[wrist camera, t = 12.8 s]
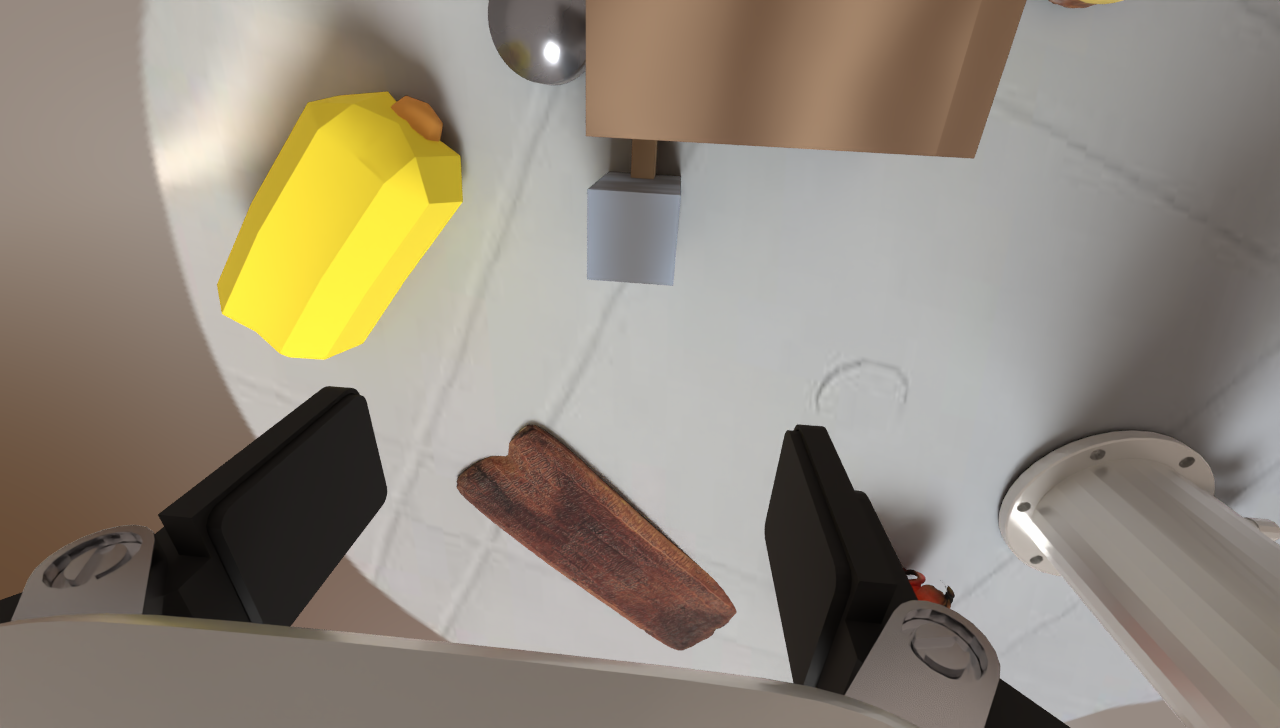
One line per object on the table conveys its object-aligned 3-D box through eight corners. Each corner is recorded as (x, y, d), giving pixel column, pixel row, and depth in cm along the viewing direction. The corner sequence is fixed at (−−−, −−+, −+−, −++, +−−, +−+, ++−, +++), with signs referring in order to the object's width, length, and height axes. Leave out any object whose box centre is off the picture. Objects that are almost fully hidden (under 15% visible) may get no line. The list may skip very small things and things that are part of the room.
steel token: (604, -29, 24) (597, -40, 22) (597, 90, 26) (591, 89, 24) (500, -41, 24) (485, -53, 22) (503, 79, 26) (489, 77, 24)
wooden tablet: (757, 625, 42) (668, 679, 45) (751, 603, 44) (666, 656, 47) (533, 419, 34) (439, 498, 37) (538, 405, 37) (449, 480, 39)
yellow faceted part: (252, 288, 33) (356, 361, 34) (156, 327, 27) (288, 413, 29) (382, 48, 26) (502, 156, 28) (292, 29, 20) (452, 168, 22)
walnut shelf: (963, -76, 22) (1076, -152, 15) (903, 147, 26) (974, 158, 20) (612, -89, 22) (585, -167, 16) (608, 130, 26) (585, 136, 20)
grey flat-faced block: (698, -28, 23) (704, -80, 17) (674, 248, 29) (673, 285, 23) (613, -32, 23) (588, -85, 17) (607, 243, 29) (587, 279, 23)
